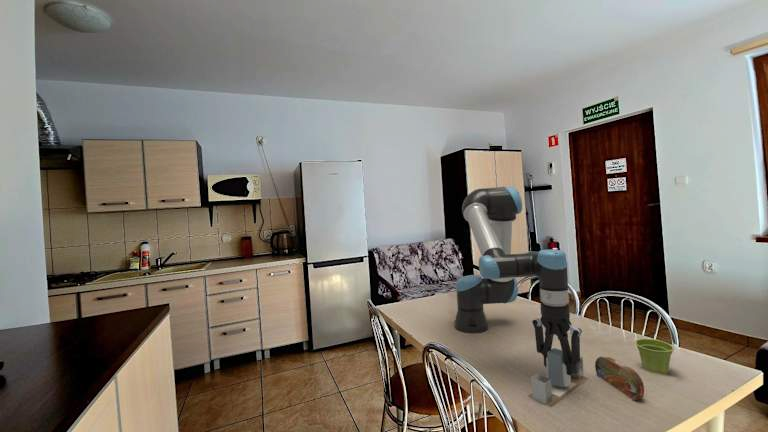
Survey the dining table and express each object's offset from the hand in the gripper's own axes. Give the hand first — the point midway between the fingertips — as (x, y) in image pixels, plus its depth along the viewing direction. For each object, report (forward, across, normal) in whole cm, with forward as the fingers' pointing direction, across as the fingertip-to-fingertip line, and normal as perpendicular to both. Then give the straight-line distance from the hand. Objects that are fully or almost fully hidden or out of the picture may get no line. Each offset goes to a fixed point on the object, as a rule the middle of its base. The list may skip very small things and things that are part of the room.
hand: (558, 381), depth 95 cm
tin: (+3, +11, +12) cm, 17 cm away
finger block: (0, 0, 0) cm, 0 cm away
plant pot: (+3, +14, +32) cm, 35 cm away
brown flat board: (+3, 0, 0) cm, 3 cm away
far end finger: (+2, 0, +10) cm, 10 cm away
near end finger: (+2, 0, -10) cm, 10 cm away
